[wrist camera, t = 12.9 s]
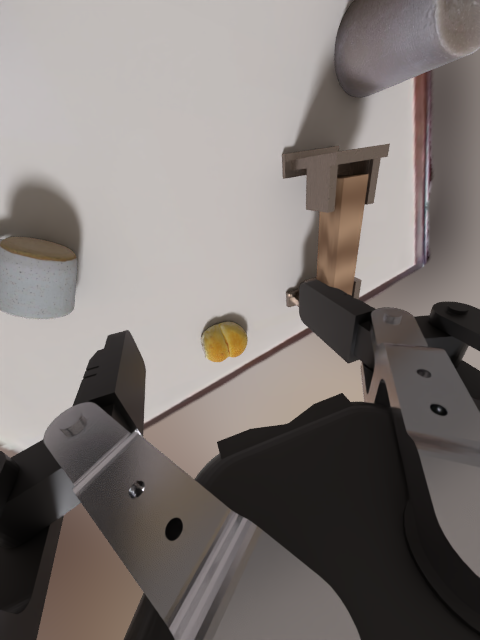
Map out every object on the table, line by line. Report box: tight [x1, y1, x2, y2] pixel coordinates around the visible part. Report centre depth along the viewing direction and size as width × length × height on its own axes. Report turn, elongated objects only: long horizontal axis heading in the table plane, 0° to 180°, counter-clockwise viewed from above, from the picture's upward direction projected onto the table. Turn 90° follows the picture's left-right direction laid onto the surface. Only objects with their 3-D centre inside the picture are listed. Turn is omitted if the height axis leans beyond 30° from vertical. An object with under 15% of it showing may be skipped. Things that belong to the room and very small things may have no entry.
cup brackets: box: [282, 144, 390, 307], centre depth 37 cm, size 25×9×11 cm, turn 8°
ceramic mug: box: [0, 237, 77, 319], centre depth 28 cm, size 11×8×8 cm
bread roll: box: [201, 322, 247, 362], centre depth 45 cm, size 8×9×4 cm
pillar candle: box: [334, 0, 480, 97], centre depth 25 cm, size 10×10×15 cm
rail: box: [317, 174, 369, 296], centre depth 34 cm, size 18×4×4 cm, turn 8°
